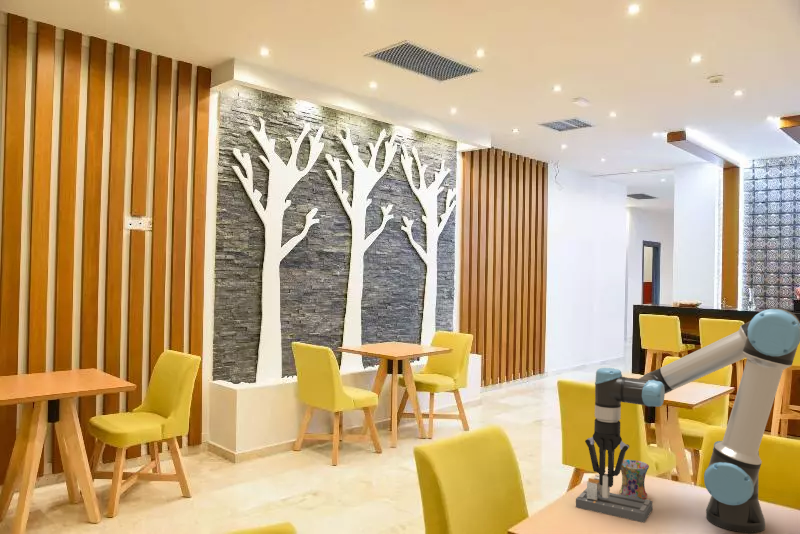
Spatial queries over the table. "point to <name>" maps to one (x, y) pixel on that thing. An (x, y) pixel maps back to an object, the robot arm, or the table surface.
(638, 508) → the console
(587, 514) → the table surface
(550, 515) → the table surface
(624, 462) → the mug
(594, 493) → the fader
